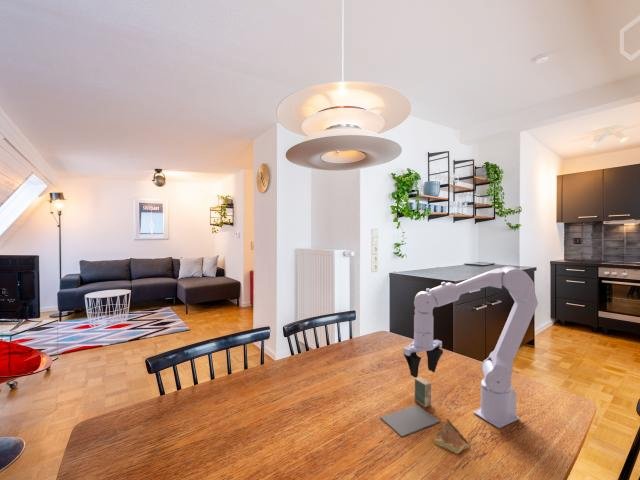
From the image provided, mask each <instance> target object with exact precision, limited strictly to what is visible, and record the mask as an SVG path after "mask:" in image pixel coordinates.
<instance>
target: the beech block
mask: <svg viewBox="0 0 640 480" xmlns="http://www.w3.org/2000/svg"><path fill="white" fill-rule="evenodd" d="M414 401H415V402H417V403H419V404H420V405H422V406H423V407H424V408H427V407H430V406H431V405H432V382H431V381H429V380H426V379H425V378H424V377H421V376H417V378H415V377H414Z"/></svg>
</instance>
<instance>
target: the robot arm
mask: <svg viewBox="0 0 640 480" xmlns="http://www.w3.org/2000/svg"><path fill="white" fill-rule="evenodd" d="M534 285H535V283H534V281H533V280H532V278H531V277H530V275H529V274H528V273H527V272H526V271H525V270H523V269H519V268H518V267H516V266H513V265H505V266H503V267H501V268H499V267H498V268H493V269H491V270H488V271H486V272H484V273H481V274H478V275H476V276H473V277H471V278H469V279H466V280H463V281H461V282H459V283H453V282H450V281H449V282H446V281H442V282H441V283H440V285H438V286H435V287H433V288H428V287H427V288H426V289H425V291H424V290H422V291H419V292H417V293H416V295H415V296H414V300H413V305H414V315H413V340H412V341H411V343H410V344H408V345H407V346H405V347H403V351H402V352H403V356H404V358H405V360H406V363H407V365H408V368H409V373H410V376H411V377H414V379H415V378H418V377H419V365H420V362H421V359H422V357H421V356H418V353H421V352H425V351H426V352H425V353H426V357H427V368H428V371H430V372H432V373H436V369H437V366H438V364H439V360H440V359H441V357H442V355H443V354H444V350H443V349H441V348H443V341H442V340H439V339H434V320H435V319H434V314H433V310H434V309H435V308H439V307H442V306H445V305H448V304H450V303H453V302H456V301H459V299H460V296H461V295H464V294H467V293H471V292H474V291H477V290H480V289H484V288H488V287H491V288H497V289H503V288H504V289H506V290H507V291H508V293H509V295H510V296H511V298H512V299H513V301H514V303H513V305H512V307H511V310H510V312H509V315H508V317H507V320H506V322H505V324H504V327H503V329H502V331H501V334H500V335H499V338H498V340H497V343H496V345H495V347H494V350H493V351H491V352H490V353H489V355H488V357H487V358H486V359H484V360H483V361H482V363H481V365H480V368H481V369H480V370H481V372H482V374H483V378H482V380H481V381H480V408H479V409H476V410H473V414H475V415H476V416H478V417H480V418H481V419H483V420H485V422H488V423H490V424H491V425H493V426H494V427H497V428H498V429H501V428H504V427H505V426H507V425H509V424H511V423H514V422H516V421H518V420H520V417H519V416H518V415H517V393H516V390H515V389H514V387H512V374H513V368H514V367H513V364H514V360H515V358H516V355H517V353H518V350H519V348H520V346H521V344H522V342H523V339H524V337H525V334H526V332H527V330H528V328H529V326H530V324H531V320H532V319H533V316H534V314H535V312H536V309H537V307H538V303H539V302H538V299H537V295H536V289H535V286H534ZM502 286H503V287H502Z"/></svg>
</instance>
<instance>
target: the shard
mask: <svg viewBox="0 0 640 480" xmlns="http://www.w3.org/2000/svg"><path fill="white" fill-rule="evenodd" d="M433 442H434V444H435V445H437V446H440V447H443V448H445V449H447V450H449V451H451V452H453V453H455V454H459V453H461V452H462V451H463V450H466V449H469V448H470V447H471V444H470V443H469V442H468V441H467V439H466V438H464V435H462V433H461V432H460V431H459V430H458V429H457V427H455V426H454V425H453V424H452V423H451V421H450V420H449V419H446V420H445V422H444V424H443V425H442V426H441V428H440V429H439V430H438V432H437V434H436V435H435V438H434V441H433Z"/></svg>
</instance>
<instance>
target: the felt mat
mask: <svg viewBox="0 0 640 480" xmlns="http://www.w3.org/2000/svg"><path fill="white" fill-rule="evenodd" d="M380 419H381V420H382V421H383V422H384V423H386V425H387V426H389V428H391V429H392V430H393V431H394V432H396V433H397V434H398V435H399V436H400V438H401V437H402V438H403V437H405V436H408V435H410V434H413V433H416V432H418V431H422V430H423V429H426V428H429V427H430V426H433V425H436V424H438V423H441V420H439V419H438V418H436V417H435V416H434V415H432V414H431V413H429V412H428V411H426V410H425V409H424V408H422V407H420V406H419V405H418V404H415V405H412V406H409V407H406V408H403V409H399V410H396V411H394V412H392V413H388V414H385V415H382V416H380Z"/></svg>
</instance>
